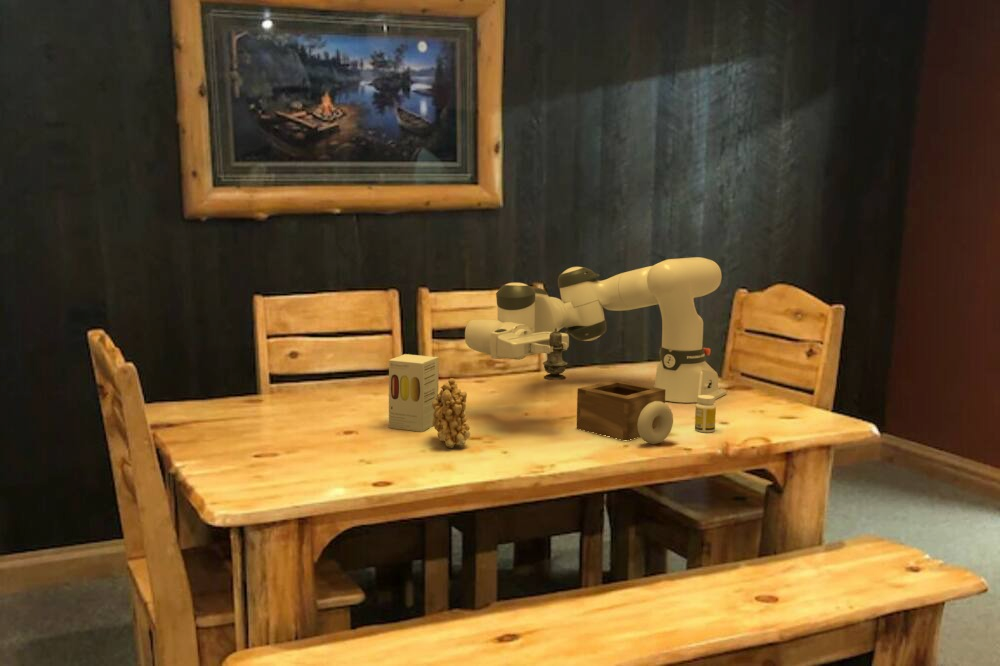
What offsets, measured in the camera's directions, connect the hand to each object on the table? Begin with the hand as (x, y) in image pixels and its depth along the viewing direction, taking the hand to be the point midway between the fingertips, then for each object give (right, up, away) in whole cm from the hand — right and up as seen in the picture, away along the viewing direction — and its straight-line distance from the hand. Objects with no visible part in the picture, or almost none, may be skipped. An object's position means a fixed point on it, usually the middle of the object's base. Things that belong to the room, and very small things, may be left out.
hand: (558, 348), depth 216 cm
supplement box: (-35, -19, +8) cm, 41 cm away
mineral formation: (-26, -22, -6) cm, 34 cm away
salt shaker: (-1, -7, +2) cm, 7 cm away
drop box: (+15, -20, +7) cm, 26 cm away
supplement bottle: (+36, -20, +7) cm, 42 cm away
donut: (+22, -22, -5) cm, 31 cm away
